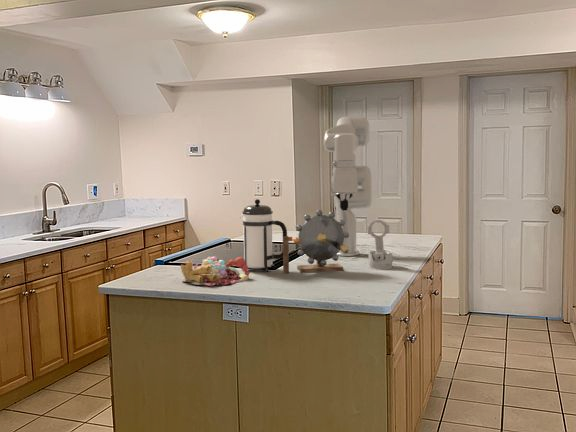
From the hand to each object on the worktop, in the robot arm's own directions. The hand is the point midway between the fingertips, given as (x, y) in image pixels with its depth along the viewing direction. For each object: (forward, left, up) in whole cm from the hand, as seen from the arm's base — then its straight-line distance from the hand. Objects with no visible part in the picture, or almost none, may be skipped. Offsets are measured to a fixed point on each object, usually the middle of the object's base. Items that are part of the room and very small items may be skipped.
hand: (344, 210), depth 242 cm
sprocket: (-10, -15, -19) cm, 26 cm away
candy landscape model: (-27, -46, -27) cm, 59 cm away
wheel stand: (-13, -6, -26) cm, 30 cm away
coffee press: (-29, -20, -26) cm, 44 cm away
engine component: (+2, +20, -26) cm, 33 cm away
